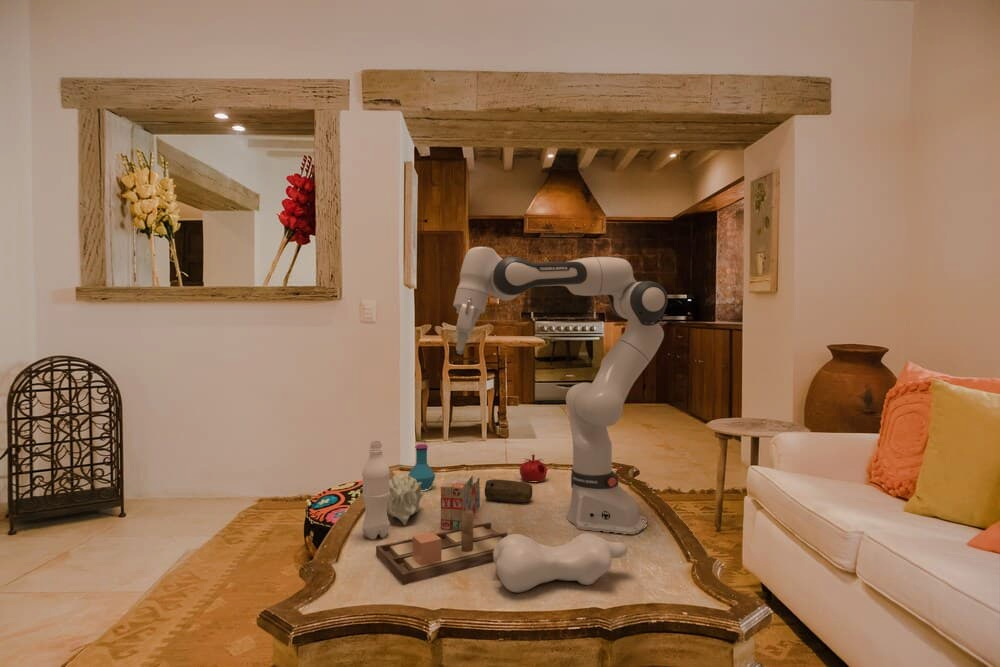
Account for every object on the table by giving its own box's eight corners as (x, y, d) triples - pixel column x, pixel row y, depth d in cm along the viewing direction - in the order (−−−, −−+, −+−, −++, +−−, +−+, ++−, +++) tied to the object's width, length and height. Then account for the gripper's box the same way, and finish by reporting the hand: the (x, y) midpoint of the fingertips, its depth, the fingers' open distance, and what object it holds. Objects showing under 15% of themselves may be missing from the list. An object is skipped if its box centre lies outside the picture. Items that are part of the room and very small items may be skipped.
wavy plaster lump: (393, 534, 166) (383, 483, 172) (435, 522, 166) (424, 471, 172) (377, 530, 149) (367, 474, 155) (424, 517, 150) (412, 461, 156)
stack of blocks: (460, 505, 172) (460, 465, 172) (480, 506, 171) (480, 466, 171) (440, 530, 151) (440, 485, 151) (462, 531, 150) (462, 486, 150)
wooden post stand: (499, 541, 141) (500, 501, 141) (512, 549, 136) (512, 507, 135) (403, 563, 127) (403, 519, 127) (413, 573, 122) (413, 528, 122)
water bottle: (366, 543, 142) (365, 446, 142) (359, 533, 148) (359, 441, 148) (393, 538, 145) (393, 443, 145) (385, 529, 152) (385, 438, 151)
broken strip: (482, 530, 148) (482, 526, 148) (493, 538, 143) (493, 533, 143) (389, 551, 135) (389, 546, 135) (398, 560, 130) (398, 555, 130)
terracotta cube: (432, 552, 130) (432, 531, 130) (441, 560, 126) (441, 538, 126) (412, 557, 128) (412, 535, 128) (421, 565, 124) (421, 543, 124)
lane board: (489, 529, 151) (489, 521, 151) (526, 553, 136) (526, 544, 136) (376, 554, 135) (376, 545, 135) (403, 584, 119) (403, 574, 119)
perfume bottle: (433, 492, 184) (433, 448, 184) (405, 492, 185) (405, 448, 184) (436, 484, 194) (436, 442, 193) (410, 484, 194) (410, 442, 194)
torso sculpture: (502, 610, 113) (642, 586, 117) (497, 559, 113) (637, 536, 117) (493, 575, 129) (616, 555, 132) (488, 530, 128) (612, 511, 132)
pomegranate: (518, 484, 196) (517, 458, 195) (521, 476, 206) (521, 451, 205) (546, 485, 194) (545, 458, 194) (548, 476, 204) (547, 451, 204)
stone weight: (483, 503, 174) (483, 482, 174) (487, 496, 181) (487, 476, 181) (531, 506, 172) (531, 484, 172) (532, 499, 179) (532, 478, 179)
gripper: (482, 298, 142) (470, 351, 140) (480, 311, 162) (470, 357, 160) (458, 293, 142) (446, 346, 140) (459, 306, 162) (449, 352, 160)
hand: (459, 352), depth 150 cm, fingers open, 8 cm apart
